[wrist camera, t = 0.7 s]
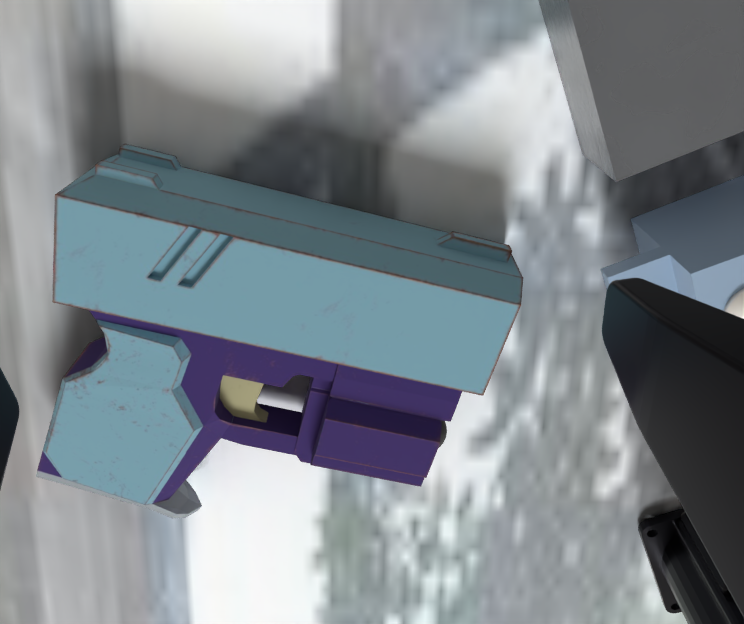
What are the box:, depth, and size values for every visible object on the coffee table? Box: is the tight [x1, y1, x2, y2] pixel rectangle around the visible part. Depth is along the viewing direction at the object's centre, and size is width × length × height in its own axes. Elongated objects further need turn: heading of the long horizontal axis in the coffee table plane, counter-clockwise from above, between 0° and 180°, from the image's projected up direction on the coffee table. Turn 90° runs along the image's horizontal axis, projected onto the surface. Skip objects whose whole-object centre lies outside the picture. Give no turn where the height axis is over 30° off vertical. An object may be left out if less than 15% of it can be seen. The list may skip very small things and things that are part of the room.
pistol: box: [36, 144, 523, 518], centre depth 24 cm, size 4×16×15 cm
